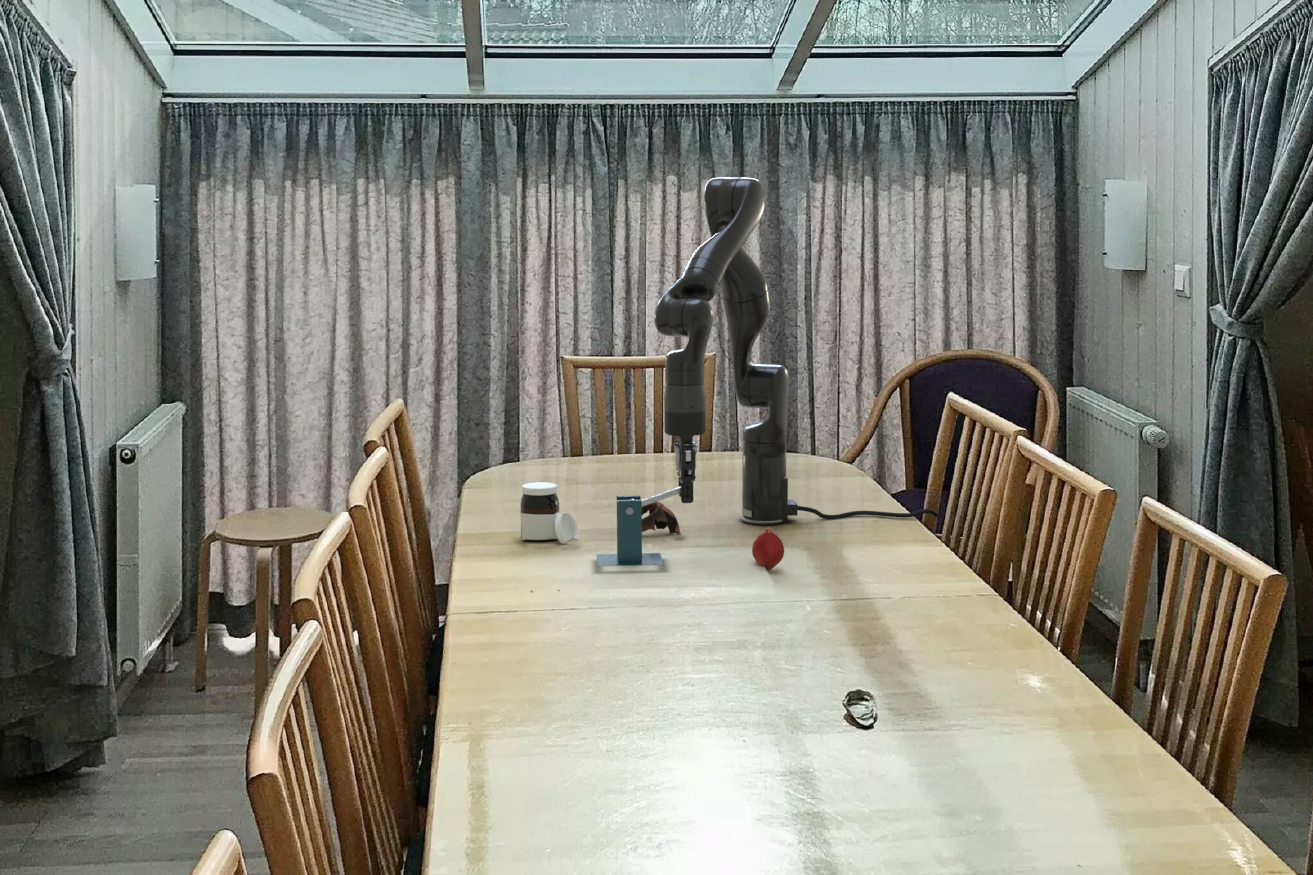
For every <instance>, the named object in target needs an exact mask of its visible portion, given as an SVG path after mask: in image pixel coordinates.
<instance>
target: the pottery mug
mask: <svg viewBox="0 0 1313 875" xmlns="http://www.w3.org/2000/svg"><path fill="white" fill-rule="evenodd" d="M647 513H648V515H647V516H645V517H642V533H644V532H646V531H649V530H651V531H657V530H665V529H666V528H668V533H669V534H670V535H672V534H676V535H680V536H681V535H682V533H681V529H680V525H679V524H680V523H679V522H678V519H677V517H676V515H675V514H674V512H673V511H672V509H670V508H668V507H667V506H666V505H664V504H663V503H662V502H660V501H657V502H654V503H651V504H648V505H645V506H642V516H644V514H647Z"/></svg>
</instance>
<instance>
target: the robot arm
mask: <svg viewBox="0 0 1313 875" xmlns="http://www.w3.org/2000/svg"><path fill="white" fill-rule="evenodd" d="M765 192H766V191H765V188H764V186H763V184H762V182H761V181H760V180H759V179H756V178H753V177H731V176H730V177H725V176H724V177H723V176H722V177H721V176H720V177H712V178H710V179H709V180H708V181H707V182H706V184H705V186H704V191H703V207H704V208H703V209H704V214H705V218H706V223H707V227H708V230H709V234H710V238H708V239H707V240H706V241H704V242H703V243H702V244H700V246H698V247H697V249H695V251H694V252H693V253H692V254H691V256H690V258H689V260H688V261H687V264H686V266H685V268H684V270H683V272H682V275H681V276H680V278H679V279H678V280H677V281H676V282H674V284H673V285H672V286H671V287H670V288H669V289H668V290H667V291H666V292H665V293H664V294H663V295H662V296H661V298H660V299H659V301H658V302H657V305H656V307H655V309H654V313H653V314H654V315H653V322H654V326H655V328H656V330H657V332H658V333H659V334H661V335H663V336H666V337H673V338H674V337H678V338H680V337H681V338H688V340H687V343H686V344H685V347H684V348H679V349H674V350H671V351H668V352H667V353H666V354H665V357H664V382H665V384H664V391H663V392H664V393H663V417H664V418H663V421H664V426H663V427H664V433H665V434H666V435H668V436H672V437H677V438H676V439H675V442H674V443H673V452H674V463H675V469H676V475H677V477H678V481H677V482H678V487H680V486H681V493H680V494H678V497H680V501H681V503H682V504H692V503H694V483H695V481H696V479H697V478H696V468H697V453H698V445H697V443H696V442H694V437H695V436H702V435H704V434H705V433H706V432H707V431H706V430H707V429H706V428H707V426H706V425H707V420H706V419H707V417H706V414H707V413H706V411H707V410H706V389H705V356H706V352H707V348H708V342H709V339H710V335H711V331H712V328H713V324H714V312H713V308H712V307H711V304H710V301H712V300H713V298H715V296H716V293H717V292H718V290H719V287H720V290H721V298H722V302H723V303H722V304H723V309H724V314H725V318H726V323H727V330H728V334H729V335H728V336H729V342H730V348H731V359H732V372H733V384H734V392H735V397H736V400H737V402H738V404H739V405H740V406H741V407H744V408H749V409H768V414H767V416H766V417H765V418H763V419H762V420H760V421H757V422H754V423H751V424H747V425H745V426H744V427H743V429H742V452H741V454H742V460H741V461H742V462H741V463H742V464H741V466H742V467H741V468H742V475H741V476H742V477H741V478H742V479H741V480H742V481H741V482H742V484H741V485H742V487H741V488H742V489H741V491H742V492H741V496H742V498H741V514H742V515H741V521H742V522H744V523H747V524H752V525H764V526H765V525H778V524H783V523H786V524H787V523H788V517H790V516H792V517H793V516H795V517H796V516H798V511H800V512H808V513H811V514H814V515H816V516H818V517H819V518H820V519H826V520H836V519H843V518H848V517H853V516H877V517H888V518H904V519H905V518H915V517H917V516H920V515H923V514H930V515H933V516H934V517H935V518H940V517H941V516H940V514H939V513H938V512H937V511H936V510H934V509H932V508H923V509H919V510H917V511H913V512H890V511H889V512H888V511H880V510H879V511H877V510H854V511H848V512H843V513H838V514H826V513H822V512H821V511H820V510H818V509H816V508H813V507H809V506H803V505H798V503H797V502H796V500H794V499H789V479H788V477H787V438H788V437H787V431H788V422H789V421H788V415H789V397H790V396H789V395H790V375H789V371H788V369H787V367H785V365H783V364H768V363H767V364H766V363H754V362H753V359H752V350H753V347H754V344H755V342H756V340H757V338H758V336H759V335H760V333H761V331H762V330H763V329H764V326H765V325H766V323H767V321H768V318H769V315H770V313H771V303H770V296H769V289H768V288H769V287H768V282H767V279H766V277H765V275H764V273H763V272H762V270H761V269H760V267H759V266H758V265H757V263H756V262H755V261H754V259H753V258H751V256H750V255H749V254H748V253H747V251H746V250H745V249H744V248H743V246H744V244H745V243H746V241H747V240H748V238H749V237H750V236H751V235H752V233H753V232H754V230H755V229H756V228H757V226H758V224H759V223H760V221H761V219H762V217H763V214H764V211H765V208H766V193H765Z"/></svg>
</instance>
